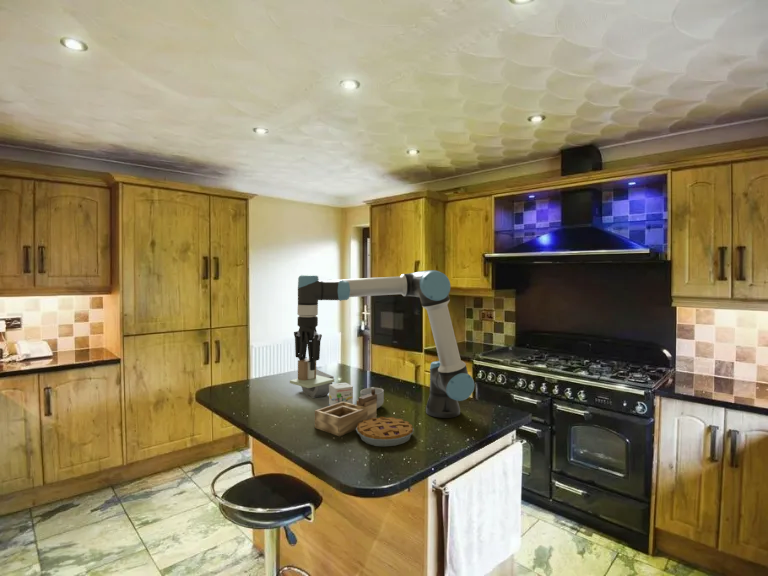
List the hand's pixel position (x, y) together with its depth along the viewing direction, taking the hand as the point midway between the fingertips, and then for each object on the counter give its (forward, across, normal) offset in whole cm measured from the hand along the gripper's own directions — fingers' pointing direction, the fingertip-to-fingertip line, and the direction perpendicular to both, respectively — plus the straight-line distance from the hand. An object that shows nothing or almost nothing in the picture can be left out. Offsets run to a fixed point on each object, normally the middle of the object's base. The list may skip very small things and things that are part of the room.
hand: (307, 377), depth 160 cm
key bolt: (+15, -7, -28) cm, 32 cm away
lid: (+1, -3, 0) cm, 3 cm away
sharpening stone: (+22, +40, -40) cm, 61 cm away
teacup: (+22, +4, -43) cm, 49 cm away
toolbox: (+22, -3, -19) cm, 29 cm away
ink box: (+22, +11, -29) cm, 39 cm away
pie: (+22, -23, -19) cm, 37 cm away
